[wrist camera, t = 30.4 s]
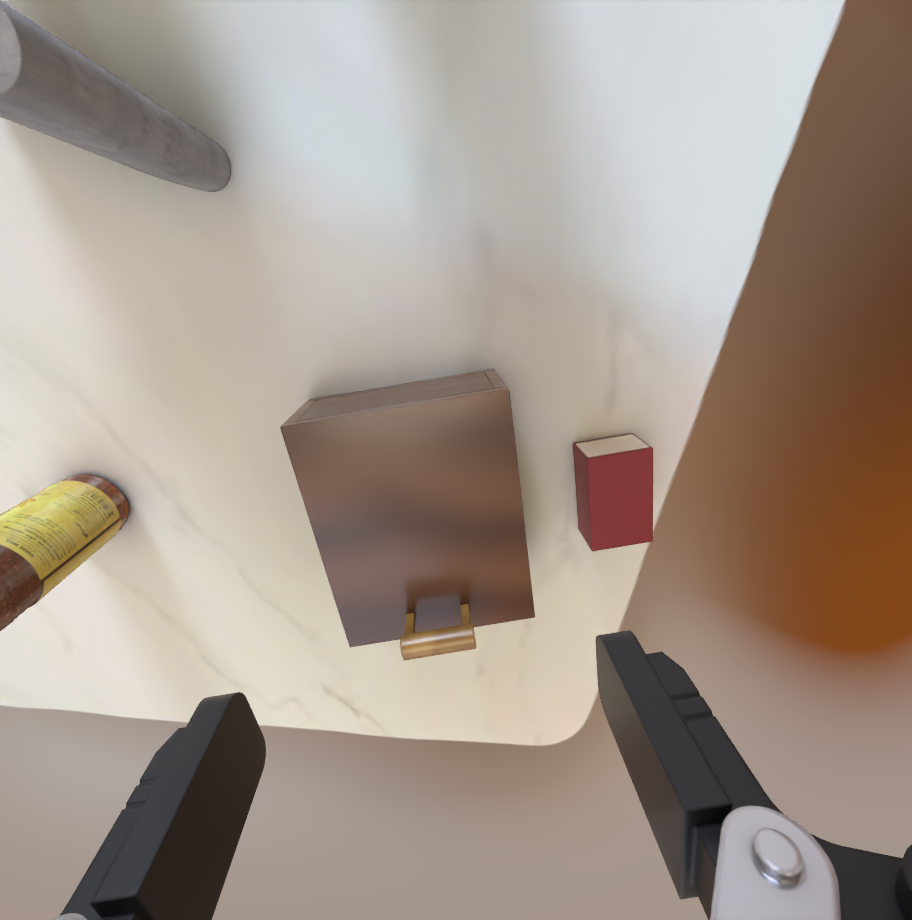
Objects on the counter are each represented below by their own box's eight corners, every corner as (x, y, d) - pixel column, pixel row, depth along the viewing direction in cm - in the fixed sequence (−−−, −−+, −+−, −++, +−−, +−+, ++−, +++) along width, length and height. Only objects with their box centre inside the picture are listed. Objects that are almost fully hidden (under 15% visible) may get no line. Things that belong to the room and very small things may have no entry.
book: (634, 519, 44) (653, 541, 40) (578, 529, 44) (591, 551, 40) (633, 432, 41) (653, 447, 37) (572, 442, 41) (586, 458, 37)
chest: (517, 556, 45) (532, 602, 38) (360, 582, 45) (348, 632, 38) (493, 368, 38) (507, 386, 31) (308, 399, 38) (283, 423, 31)
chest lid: (533, 611, 39) (547, 656, 34) (351, 640, 39) (340, 689, 34) (507, 386, 31) (520, 404, 27) (283, 423, 31) (257, 448, 27)
